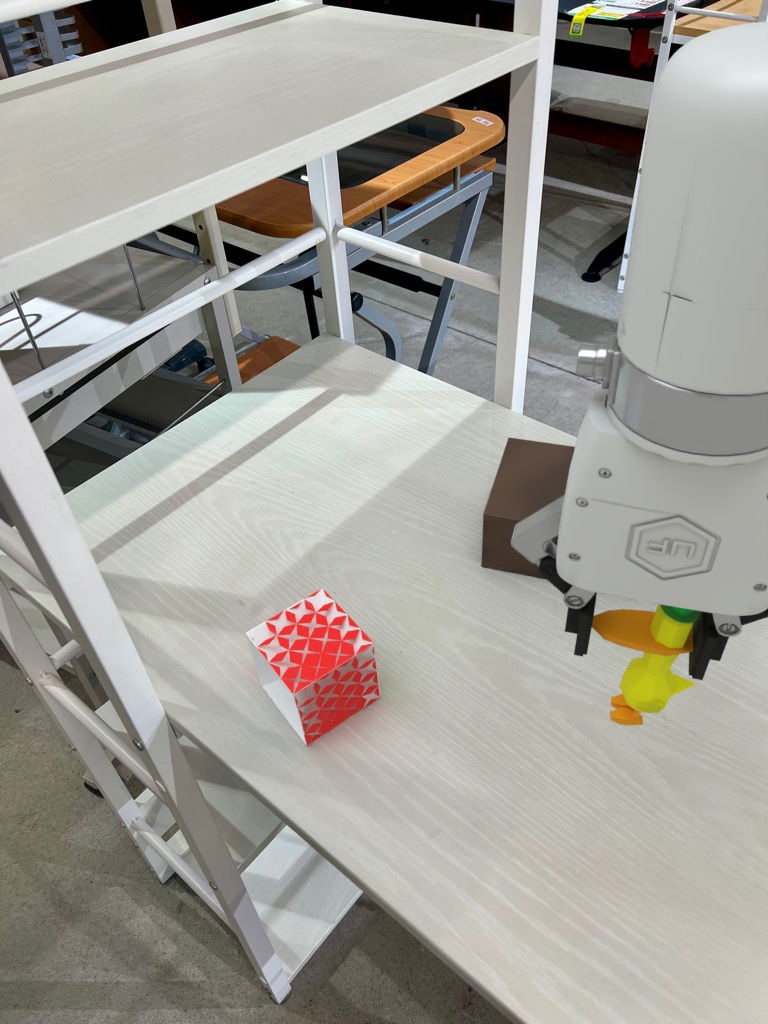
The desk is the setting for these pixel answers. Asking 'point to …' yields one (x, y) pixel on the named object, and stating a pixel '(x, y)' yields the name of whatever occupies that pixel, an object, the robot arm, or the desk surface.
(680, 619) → the toy figure
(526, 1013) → the desk surface
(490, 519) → the cabinet
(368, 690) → the red patterned cube
